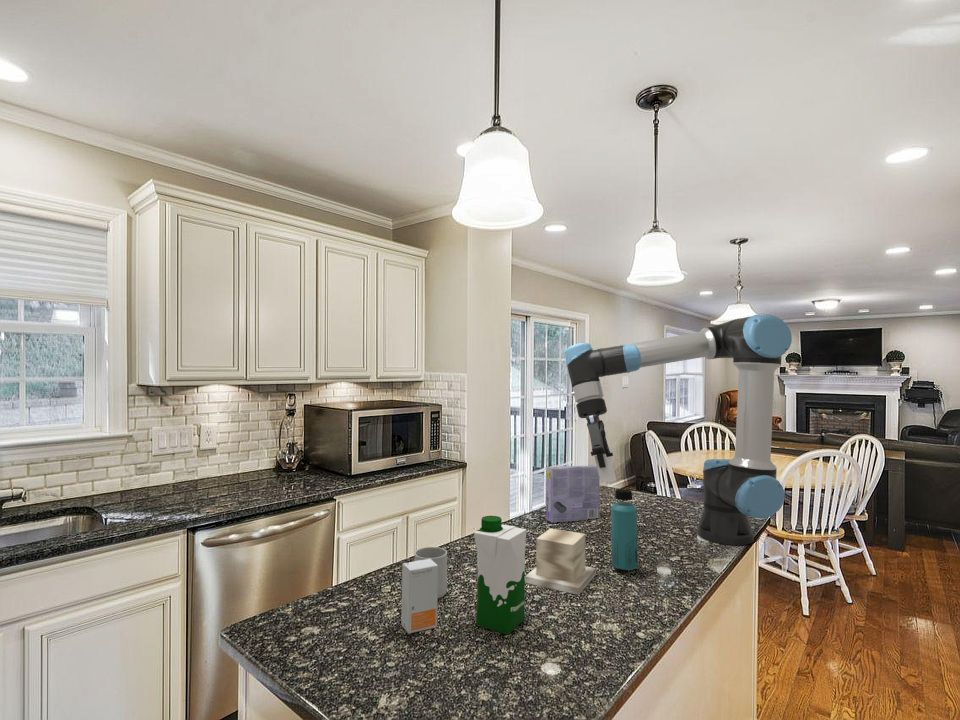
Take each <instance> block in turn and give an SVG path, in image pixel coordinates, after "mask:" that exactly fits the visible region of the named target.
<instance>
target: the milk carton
mask: <svg viewBox="0 0 960 720" xmlns="http://www.w3.org/2000/svg"><path fill="white" fill-rule="evenodd" d="M480 520H481V523H480V524H481V527H480V528H479V529H477V530H476V531H474V532H473V536H474V541H475V547H476V552H477V553H476V555H477V557H476V558H477V559H476V560H477V561H476V564H477V565H476V568H477V569H476V572H477V573H476V577H477V578H476V579H477V580H476V581H477V582H476V586H477V587H476V594H477V595H476V611H475V612H476V613H475V614H476V616H475V617H476V618H475V625H476V626H477V627H478V626H479V627H482V628H484V629H488V630H491V631H495V632H498V633H500V634H504V635H507V636H508V635H509V634H510V633H512V632H513V630H515V629H516V628H517V627H518V626H520V625H521V624H522V622H524V621H525V619H526V617H525V615H526V614H525V613H526V612H525V611H526V609H525V606H526V605H525V604H526V603H525V602H526V601H525V600H526V598H525V597H526V595H525V593H526V590H525V589H526V586H525V584H526V583H525V576H526V575H525V574H526V571H525V567H526V565H525V563H526V562H525V561H526V555H525V554H526V541H527V529H526V528H520V527H516V526H515V525H508V524H503V523H502V522H503V521H502V520H503V519H502V517H501V516H498V515H485V516H481V519H480Z"/></svg>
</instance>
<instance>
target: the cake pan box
mask: <svg viewBox="0 0 960 720" xmlns="http://www.w3.org/2000/svg"><path fill="white" fill-rule="evenodd" d="M600 484H601V482H600V478H599V473H598V469H597V465H593V464H591V465H563V466H561V465H560V466H546V468H545V520H546V521H548V522H549V523H550V524H557V522H560V523H567V522H568V521H570V523H571V521H574V522H580V521H579V520H582V521H589V520H588V519H592V520H597V519H596V518H600V517H601V516H600V513H601V512H600V508H601V505H600V502H601V501H600V499H601V498H600V493H601V492H600V488H601V487H600ZM568 523H569V522H568Z"/></svg>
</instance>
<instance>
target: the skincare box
mask: <svg viewBox="0 0 960 720" xmlns="http://www.w3.org/2000/svg"><path fill="white" fill-rule="evenodd" d="M401 569H402V570H401V571H402V573H401V577H402V578H401V616H400V617H401V621H400V622H401V626H402V628H403V629H404V630H405V631H406V633H407V634H408V635H409V634H412V633H418V632H421V631H426V630H429V629H430V630H431V629H436V628H437V627H438V599H439V598H438V565H437V564H436V563H435V562H433V561H432V560H431V559H426V560H418V561H415V560H413V561H410V562H403V563H402V565H401ZM437 598H438V599H437Z"/></svg>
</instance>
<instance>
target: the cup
mask: <svg viewBox="0 0 960 720" xmlns="http://www.w3.org/2000/svg"><path fill="white" fill-rule="evenodd" d="M426 559H431V560H432V561H433V562H435V563H436V564H437V565H438V598H437V600H438V599H441V598H443V597H444V596H445V595H446V594H447V592H448V590H447V589H448V550H447V549H445V548H442V547H438V546H437V547H436V546H427V547H422V548H421V547H420V548H419V549H417V550H415V551H414V561H418V560H426Z"/></svg>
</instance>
